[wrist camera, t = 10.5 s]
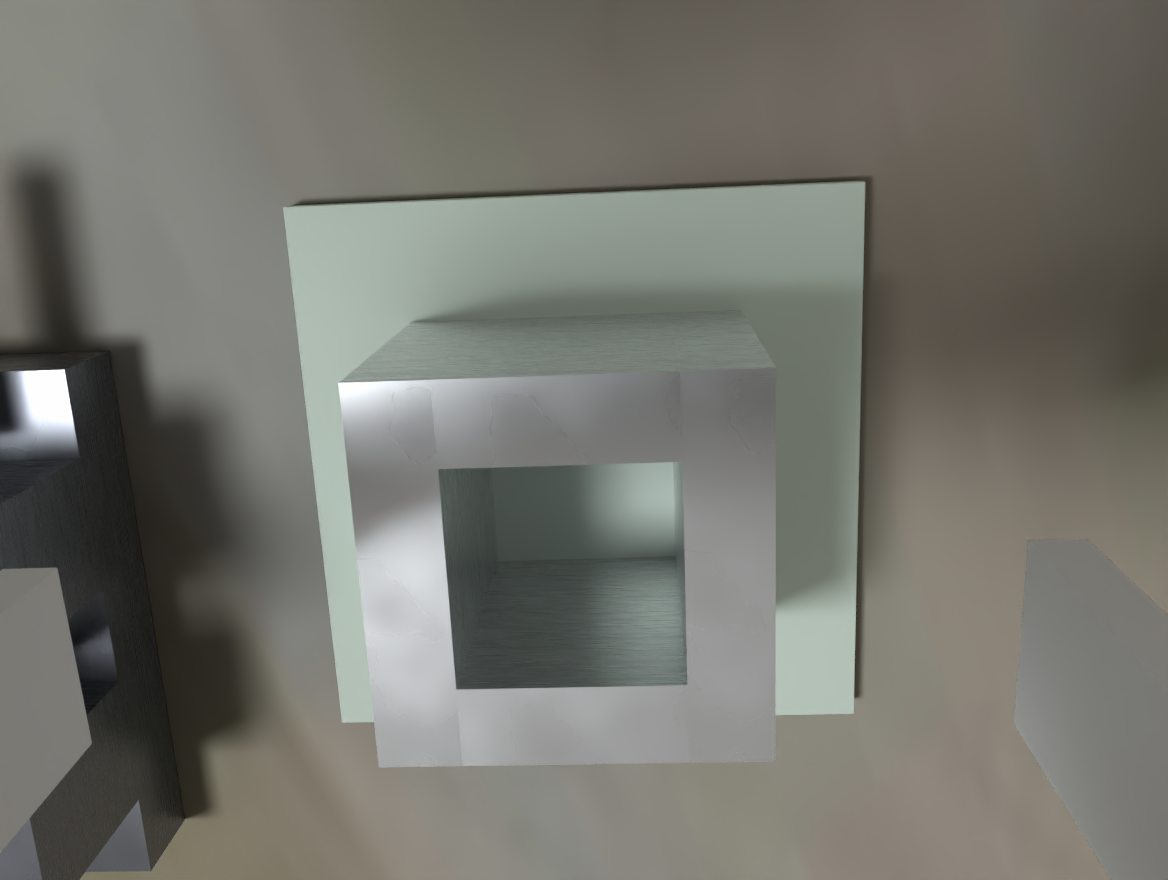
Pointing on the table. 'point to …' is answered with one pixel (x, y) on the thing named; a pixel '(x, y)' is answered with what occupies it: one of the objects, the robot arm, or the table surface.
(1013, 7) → the table surface
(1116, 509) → the table surface
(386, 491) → the grey hollow block
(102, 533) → the vise
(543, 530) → the mat
